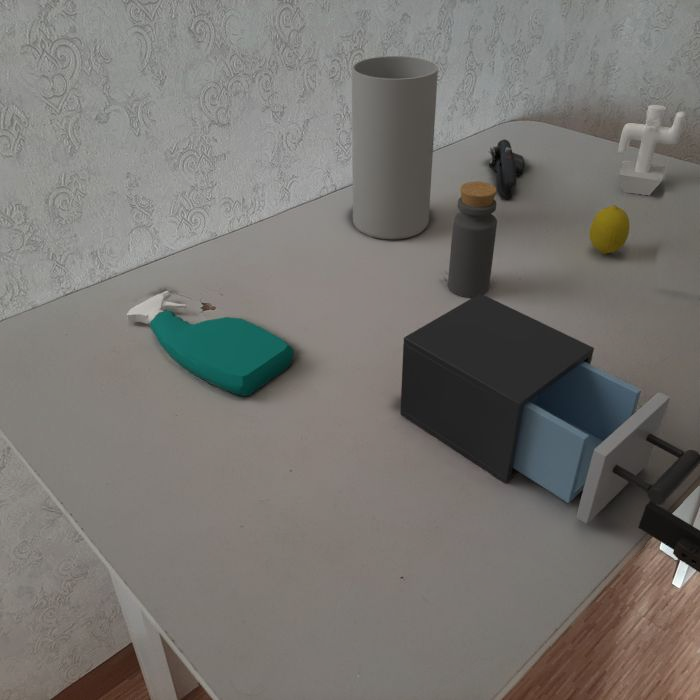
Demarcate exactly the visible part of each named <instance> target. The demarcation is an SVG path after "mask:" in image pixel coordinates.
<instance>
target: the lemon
mask: <svg viewBox="0 0 700 700" xmlns="http://www.w3.org/2000/svg"><path fill="white" fill-rule="evenodd" d="M629 219H630V218H629V216H628V214H627V213H626V211H625V210H623V209H622V208H620V207H618V205H616V204H613V205H611V206H606V207H604V208H602V209H600V210H599V211H598V212H597V213H596V214H595V215H594V217H593V219H592V221H591V224H590V227H589V240H590V243H591V245H592V246H593V247H594V248H595V250H597V251H598V252H600V253H601V254H602V255H607V254H609V253H610V254H611V253H614V252H617V251H619V250H620V249H621V248H622V247H623V246H624V245H625V244H626V242H627V239H628V237H629V234H630V220H629Z"/></svg>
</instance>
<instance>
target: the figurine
mask: <svg viewBox="0 0 700 700" xmlns="http://www.w3.org/2000/svg"><path fill="white" fill-rule="evenodd" d="M666 111H667V107H666V106H664V105H661V104H649V105H648V106H647V111H646V120H645V123H644V124H643V123H635V122H634V123H633V122H628V123H626V124H624V126H623V127H622V131H621V135H620V139H619V144H618V148H617V151H618V154H619V155H625V154H627V153H628V150H629V147H630V143H631V141H636V142H637V141H639V142H640V145H639V149H638V153H637V158H636V161H631V160H625V159H623V160H622V163H621V165H620V168H619V171H618V174H617V175H618V180H619V182H620V186H621V190H622V193H625V194H631V193H633V195H638V194H642V195H641V196H645V195H649V196H650V195H652V193H653V192H654V191H655V190H656V188H657V187H658V186H659V185H660V184H661V183H662V181H663V178H664V172H665V168H666V165H662V164H654V163H652V161H653V158H654V153H655V150H656V146H657V144H661V145H670V146H673V145H676V144H677V143H678V142H679V141H680V138H681V135H682V131H683V128H684V125H685V120H686V116H687V115H686V113H685V111H681V110H680V111H677V112H676V113H675V116H674V119H673V123H672V125H671V126H670V127H668V126H662V121H663V119H664V118H665V114H666ZM634 193H635V194H634Z"/></svg>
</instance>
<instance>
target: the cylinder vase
mask: <svg viewBox="0 0 700 700" xmlns="http://www.w3.org/2000/svg"><path fill="white" fill-rule="evenodd" d="M438 73H439V66H438V65H437V63H435V62H433V61H430V60H428V59H424V58H420V57H413V56H404V55H403V56H402V55H386V56H385V55H384V56H375V57H369V58H364V59H361V60H359V61H356V62H355V63H353V64H352V66H351V144H352V145H351V146H352V147H351V148H352V151H351V152H352V153H351V154H352V155H351V156H352V163H351V164H352V171H351V172H352V222H353V225H354V227H355V228H356V229H357V230H358V231H359V232H360V233H362V234H364V235H366V236H368V237H371V238H376V239H379V240H380V239H381V240H402V239H407V238H412V237H414V236H416V235H419V234H421V233H422V232H423V231H424V230H425V229H426V228H427V227H428V225H429V220H430V206H431V205H430V203H431V189H432V175H433V174H432V173H433V172H432V171H433V157H434V155H433V154H434V142H435V141H434V139H435V123H436V107H437V93H438V92H437V91H438V90H437V89H438V76H439V74H438Z"/></svg>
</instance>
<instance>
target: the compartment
mask: <svg viewBox="0 0 700 700" xmlns="http://www.w3.org/2000/svg"><path fill="white" fill-rule="evenodd" d="M641 394H642V389H640V388H639V387H637V386H634V385H632V384H630V383H629V382H626V381H624V380H622V379H621V378H618V377H617V376H614V375H613V374H610V373H608V372H606V371H604V370H602V369H600V368H598V367H596V366H594V365H592V364H591V363H590V364H588V363H586V362H584V361H583V362H581V363H580V364H579V365H577V366H576V367H575V368H573V369H572V370H571V371H569V372H568V373H567V374H566V375H564V376H563V377H562V378H560V379H559V380H558V381H556V382H555V383H554V384H552V385H551V386H550V387H548V388H547V389H546V390H544V391H543V392H542V393H540V394H539V395H538V396H536V397H535V398H534V399H533V400H531V401H530V402H529V403H527V404H526V405H525V406H523V413H522V419H521V424H520V430H519V436H518V441H517V447H516V452H515V458H514V464H513V468H514V469H516V470H517V471H519V472H520V473H519V474H522V475H523V476H524V477H526V478H528V479H530V480H531V481H533V482H534V483H536V484H537V485H539V486H540V487H542V488H544V489H545V490H547V491H549V492H550V493H552V494H553V495H555V496H556V497H558V498H560V499H561V500H562V501H563V502H566V503H567V504H569V503H570V502H572V500H574V499H575V498H576V497H577V496H578V495H579V494H580V493H581V492H582V493H581V497H580V501H579V504H578V509H577V512H576V515H575V516H576V517H575V518H577V519H578V520H579V521H581V522H583V523H584V524H586V525H588V524H589V523H590V522H591V521H592V520H593V519H594V518H595V517H596V516H597V515H598V514H599V513H600V512H601V511H602V510H603V509H604V508H605V507H606V506H607V505H609V503H610V502H611V501H612V500H613V499H614V498H615V497H616V496H617V495H618V494H619V493H620V492H621V491H622V490H623V489H624V488H626V486H627V485H628V484H632V485H633V486H635V487H637V488H639V489H640V490H642V491H644V492H645V493H646V496H647V498H648V500H649V502H650V501H652V502H653V503H655V504H657V505H658V506H660V505H664V503H665V502H666V501H667V500H668V499H669V498H670V497H671V496H672V495H673V494H674V492H676V490H677V489H678V488H679V487H680V486H681V485H682V484H683V483H684V482H685V481H686V480H687V479H688V478H689V476H690V475H691V474H692V473H693V472H694V471H695V470H696V469H697V468H698V467H699V466H700V453H699V452H698V451H696V450H694V449H687V450H685V451H684V450H683V449H681V448H680V447H678V446H675V445H674V444H671V443H670V442H667V441H666V440H663V439H662V438H660V437H658V435H659V434H660V429H661V427H662V423H663V420H664V417H665V414H666V412H667V409H668V405H669V402H670V400H671V397H670V396H668V395H667V394H664V393H662V392H660V391H658V392H657V393H656V394H654V395H653V396H652V397H651V398H649V400H648V401H646V402H645V404H643V405H642V406H641V407H640V408H639V409H638V410H636V409H637V406H638V403H639V400H640V398H641V397H640V396H641ZM654 447H656V448H659V449H661V450H663V451H665V452H666V453H668V454H670V455H672V456H674V457H676V458H677V459H676V460H675V461H674V462H673V463H672V465H671V466H669V468H668V469H666V471H665V472H663V474H661V476H660V477H659V478H658V479H657V480H656V481H655V482H654V483H653V484H651V483H649V482H647V480H644V479H643V478H641V477H640V476H637V475H639V473H640V472H642V470H644V468H646V466H648V464H649V463H650V460H651V459H650V458H651V456H652V454H653V450H654Z"/></svg>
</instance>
